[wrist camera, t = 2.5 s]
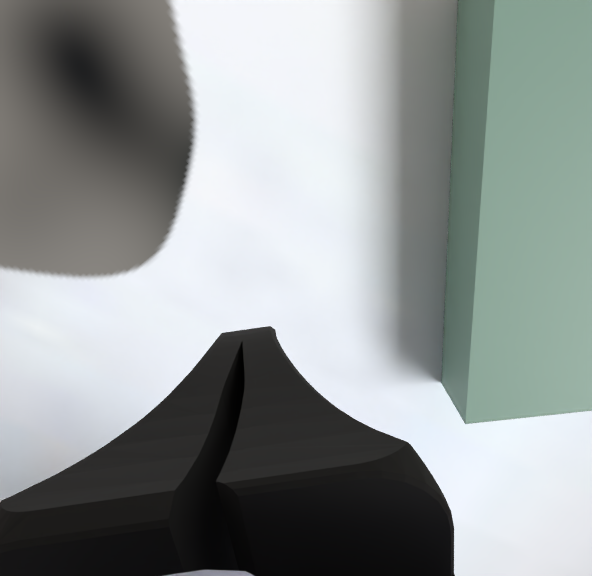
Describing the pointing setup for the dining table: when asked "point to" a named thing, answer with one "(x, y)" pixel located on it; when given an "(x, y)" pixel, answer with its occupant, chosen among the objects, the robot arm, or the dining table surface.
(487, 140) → the green book
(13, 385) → the dining table surface
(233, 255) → the dining table surface
